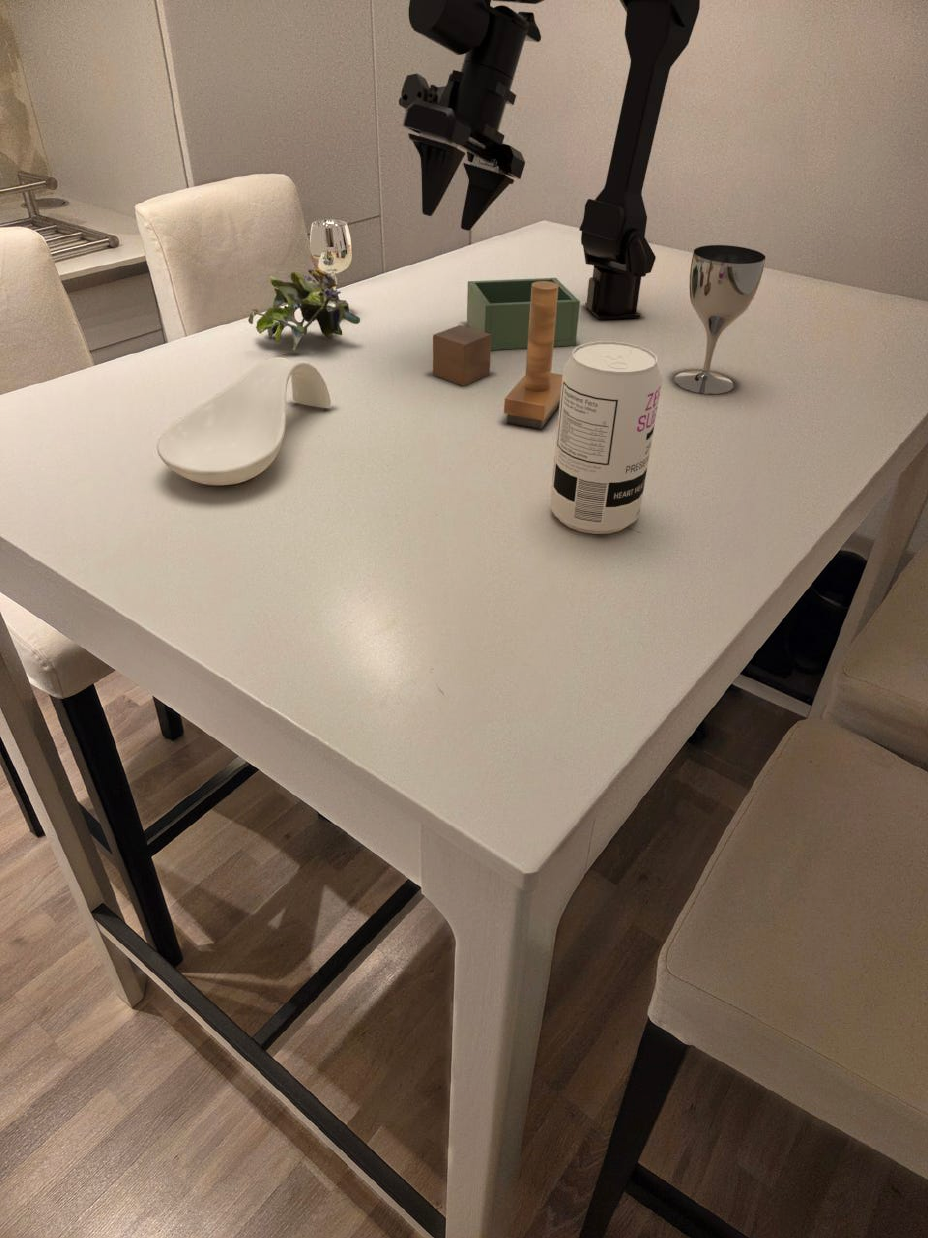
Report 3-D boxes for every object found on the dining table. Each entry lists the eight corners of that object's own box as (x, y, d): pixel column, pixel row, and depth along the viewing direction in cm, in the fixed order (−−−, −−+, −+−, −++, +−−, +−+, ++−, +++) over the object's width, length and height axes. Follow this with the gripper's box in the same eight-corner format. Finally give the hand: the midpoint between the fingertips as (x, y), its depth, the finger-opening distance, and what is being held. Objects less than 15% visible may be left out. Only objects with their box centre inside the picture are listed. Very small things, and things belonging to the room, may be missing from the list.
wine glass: (739, 375, 108) (767, 249, 99) (733, 399, 102) (763, 267, 93) (675, 366, 110) (697, 241, 101) (666, 389, 104) (689, 258, 95)
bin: (552, 319, 123) (556, 277, 120) (575, 345, 115) (580, 301, 112) (466, 323, 121) (467, 280, 118) (483, 350, 113) (485, 305, 109)
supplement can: (542, 493, 83) (556, 338, 74) (626, 491, 83) (650, 338, 74) (557, 538, 76) (574, 375, 67) (648, 536, 77) (677, 374, 68)
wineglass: (359, 308, 125) (354, 219, 118) (351, 321, 121) (346, 229, 113) (320, 306, 125) (313, 217, 118) (310, 319, 121) (303, 227, 114)
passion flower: (329, 375, 119) (377, 307, 112) (289, 390, 109) (340, 316, 103) (268, 318, 118) (314, 245, 112) (224, 327, 109) (271, 249, 103)
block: (459, 364, 109) (460, 324, 106) (489, 374, 106) (491, 334, 103) (432, 374, 106) (432, 334, 103) (463, 386, 103) (464, 344, 100)
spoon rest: (247, 512, 79) (237, 440, 74) (138, 489, 82) (122, 418, 77) (358, 412, 97) (355, 349, 92) (265, 396, 100) (258, 334, 95)
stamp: (565, 400, 101) (578, 275, 92) (542, 431, 94) (554, 300, 85) (528, 393, 102) (536, 270, 93) (502, 423, 95) (510, 294, 87)
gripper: (465, 83, 105) (429, 219, 111) (382, 25, 89) (344, 186, 94) (545, 104, 101) (503, 243, 107) (473, 47, 85) (428, 214, 91)
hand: (446, 222), depth 100 cm, fingers open, 9 cm apart
